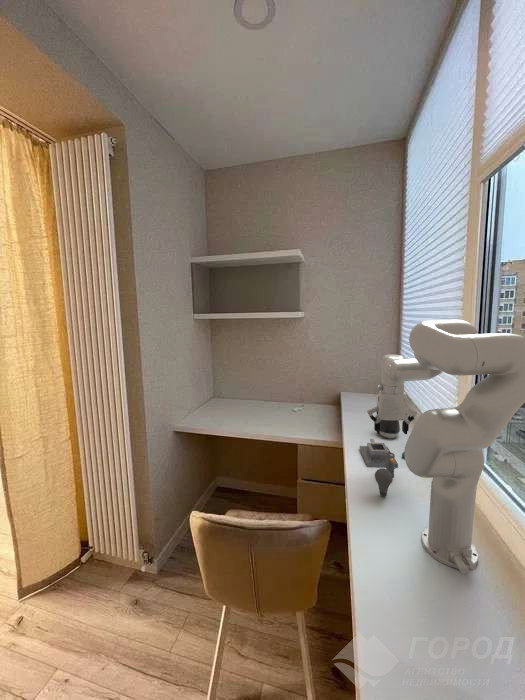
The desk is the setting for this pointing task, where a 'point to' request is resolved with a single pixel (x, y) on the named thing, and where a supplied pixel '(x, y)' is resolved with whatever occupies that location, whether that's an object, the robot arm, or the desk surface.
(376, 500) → the desk surface
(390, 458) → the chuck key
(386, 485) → the light bulb
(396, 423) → the pump dispenser
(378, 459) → the block
